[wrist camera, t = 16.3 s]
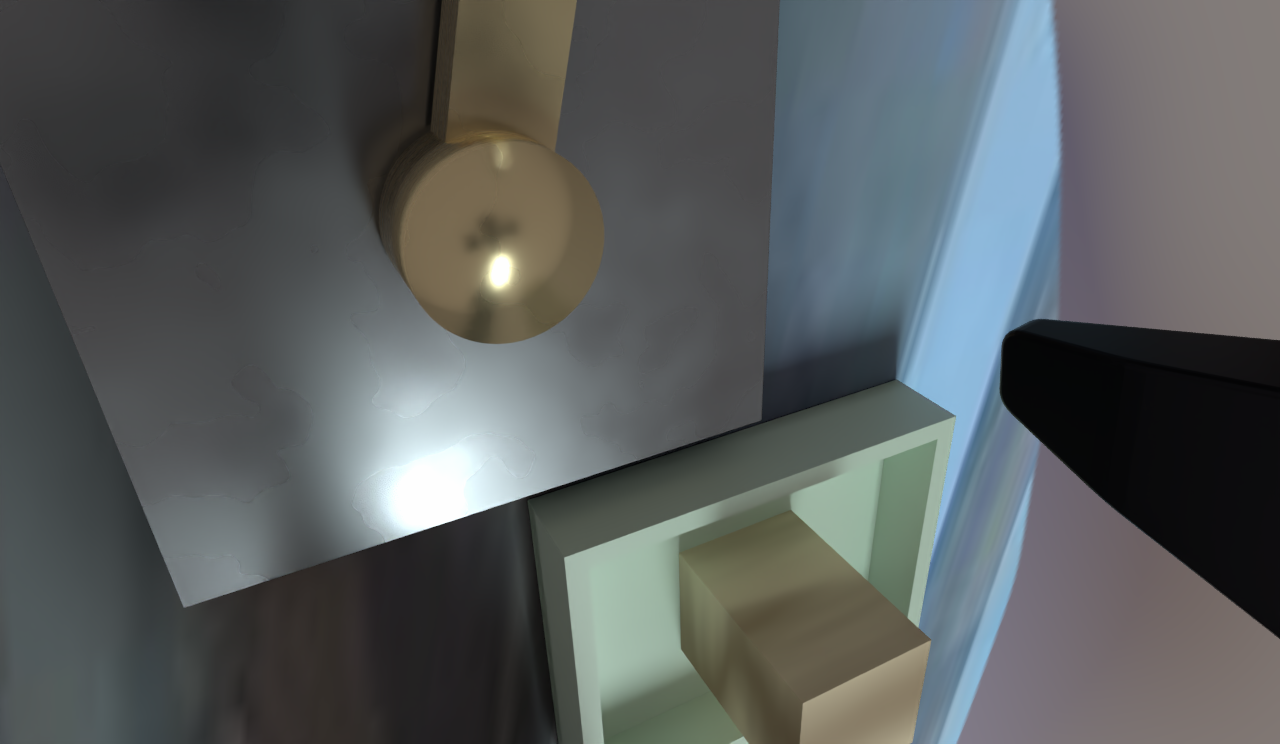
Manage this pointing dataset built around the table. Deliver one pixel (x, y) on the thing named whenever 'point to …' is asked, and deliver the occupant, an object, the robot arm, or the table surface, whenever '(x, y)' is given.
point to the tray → (708, 509)
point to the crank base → (374, 262)
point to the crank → (495, 180)
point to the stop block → (798, 639)
